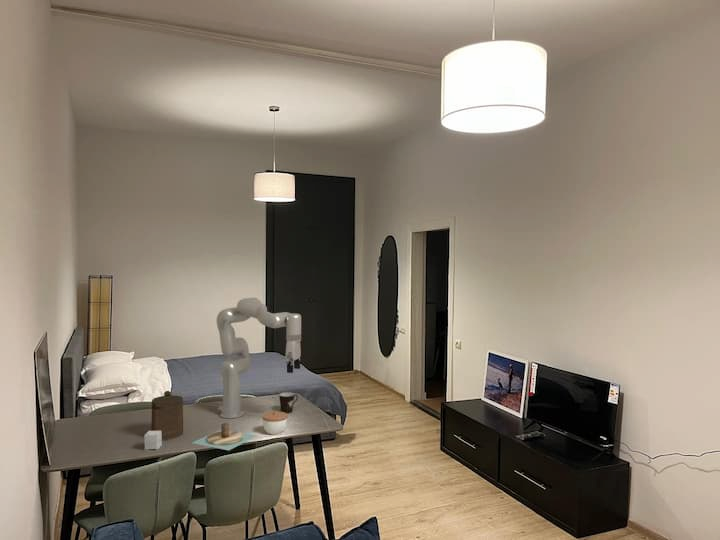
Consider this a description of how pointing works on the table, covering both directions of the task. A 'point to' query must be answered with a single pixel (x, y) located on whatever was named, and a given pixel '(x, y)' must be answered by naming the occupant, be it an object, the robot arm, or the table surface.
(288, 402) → the coffee mug
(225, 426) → the maple lid
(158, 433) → the skincare box
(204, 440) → the rubber mat
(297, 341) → the robot arm
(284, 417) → the lidded bowl
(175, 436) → the wooden container
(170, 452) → the table surface
